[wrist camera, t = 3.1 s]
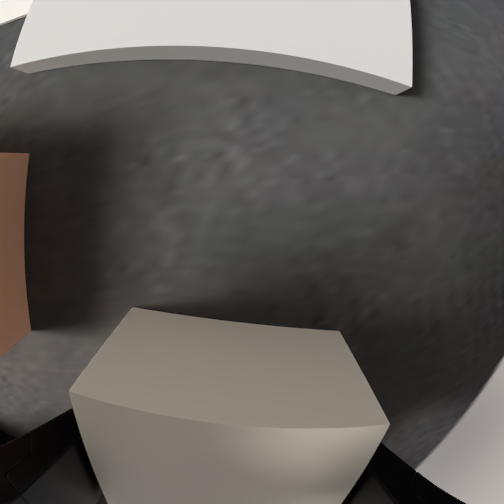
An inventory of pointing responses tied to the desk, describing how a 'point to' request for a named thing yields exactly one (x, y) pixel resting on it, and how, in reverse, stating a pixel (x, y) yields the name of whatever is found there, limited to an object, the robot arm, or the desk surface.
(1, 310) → the brick orange
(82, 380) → the brick ivory
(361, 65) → the baseplate
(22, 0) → the page
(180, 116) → the desk surface
